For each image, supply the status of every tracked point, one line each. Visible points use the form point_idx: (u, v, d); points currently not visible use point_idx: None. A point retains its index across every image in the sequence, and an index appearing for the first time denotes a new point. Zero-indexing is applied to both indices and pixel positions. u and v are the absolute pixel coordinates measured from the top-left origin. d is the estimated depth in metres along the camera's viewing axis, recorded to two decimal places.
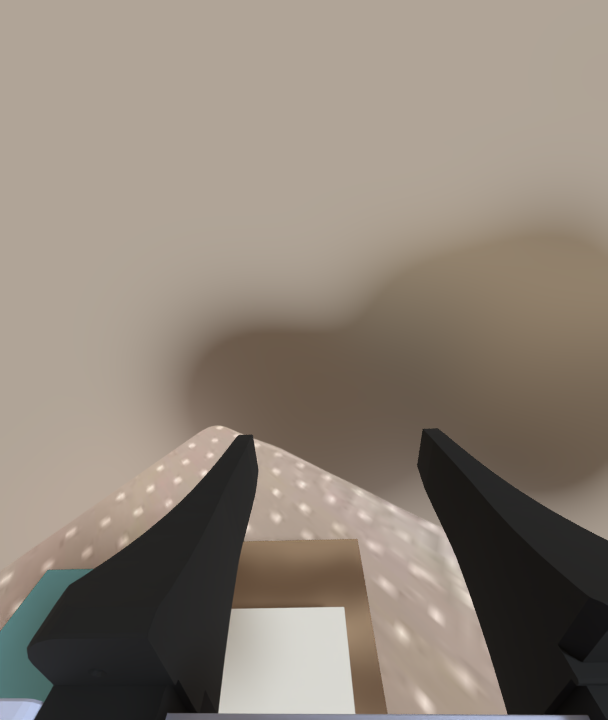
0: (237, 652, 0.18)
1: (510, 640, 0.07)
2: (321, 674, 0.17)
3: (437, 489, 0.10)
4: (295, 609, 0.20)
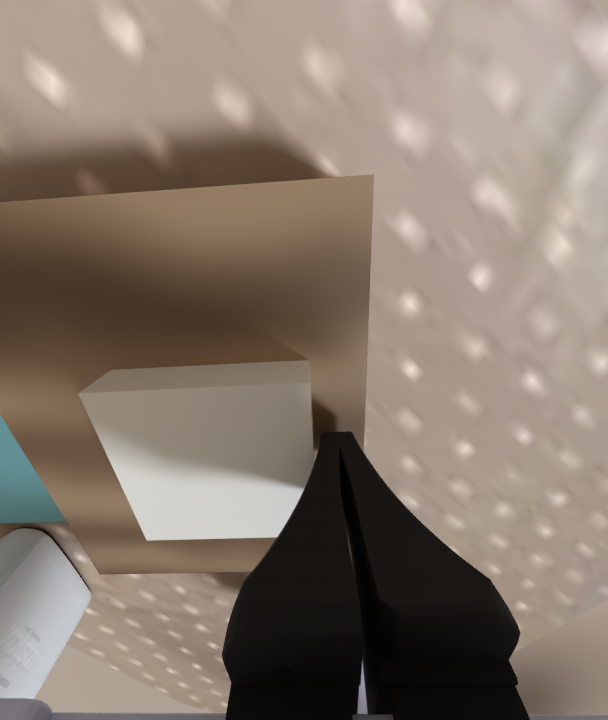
0: (127, 443, 0.11)
1: (365, 641, 0.07)
2: (268, 459, 0.11)
3: (342, 491, 0.11)
4: (209, 389, 0.10)
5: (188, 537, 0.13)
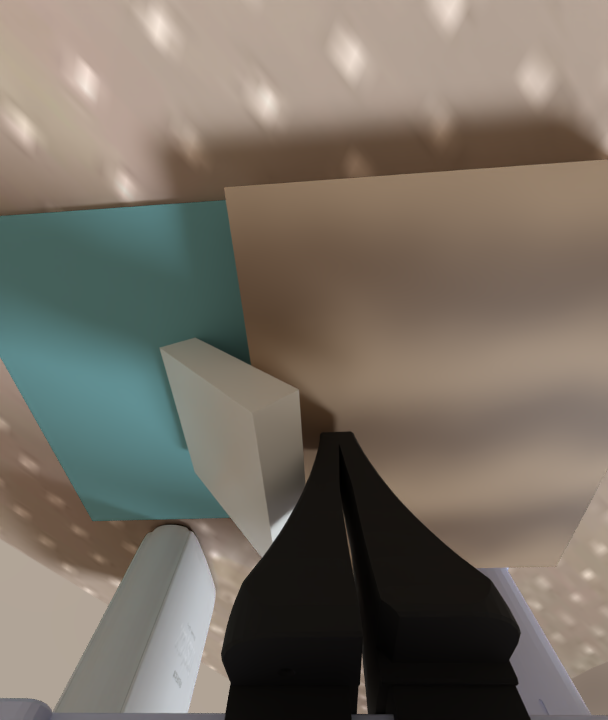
0: (178, 395, 0.14)
1: (365, 640, 0.07)
2: (237, 468, 0.11)
3: (342, 491, 0.11)
4: (201, 379, 0.10)
5: (209, 489, 0.15)
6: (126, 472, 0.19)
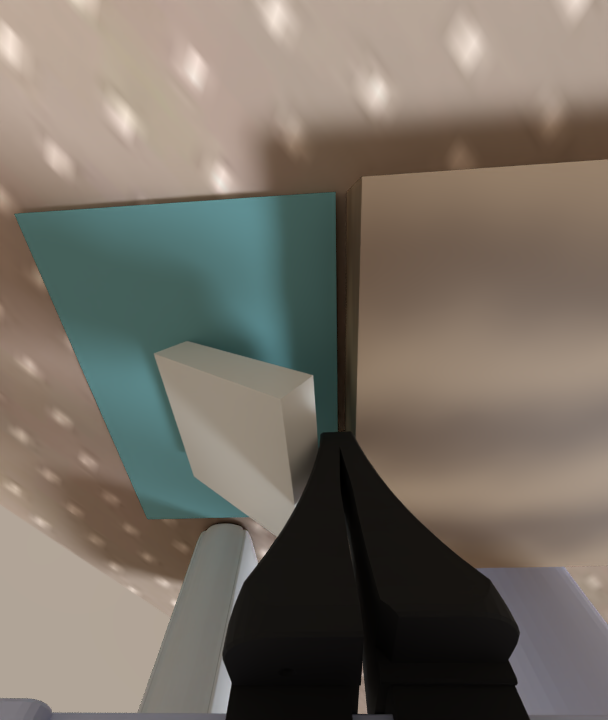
0: (177, 399, 0.14)
1: (365, 640, 0.07)
2: (256, 457, 0.11)
3: (342, 491, 0.11)
4: (214, 377, 0.11)
5: (214, 490, 0.16)
6: (188, 470, 0.19)
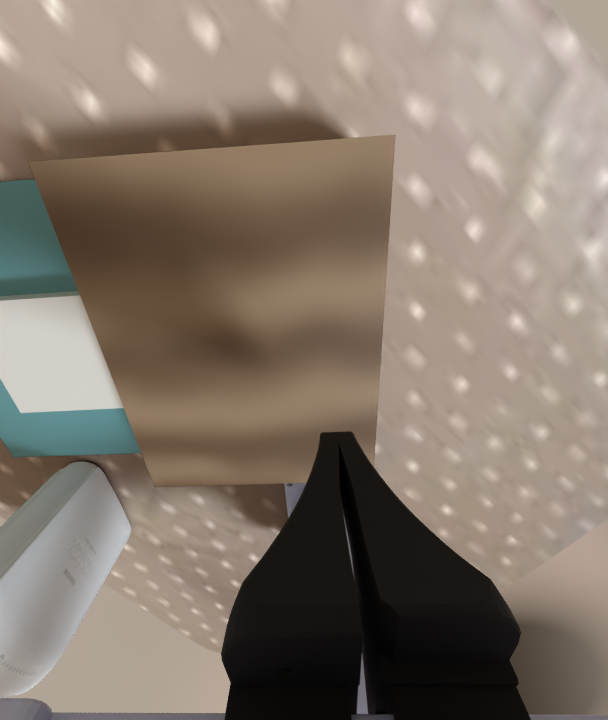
0: None
1: (366, 641, 0.07)
2: (77, 348, 0.18)
3: (342, 491, 0.11)
4: (29, 300, 0.17)
5: (46, 410, 0.20)
6: None
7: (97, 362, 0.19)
